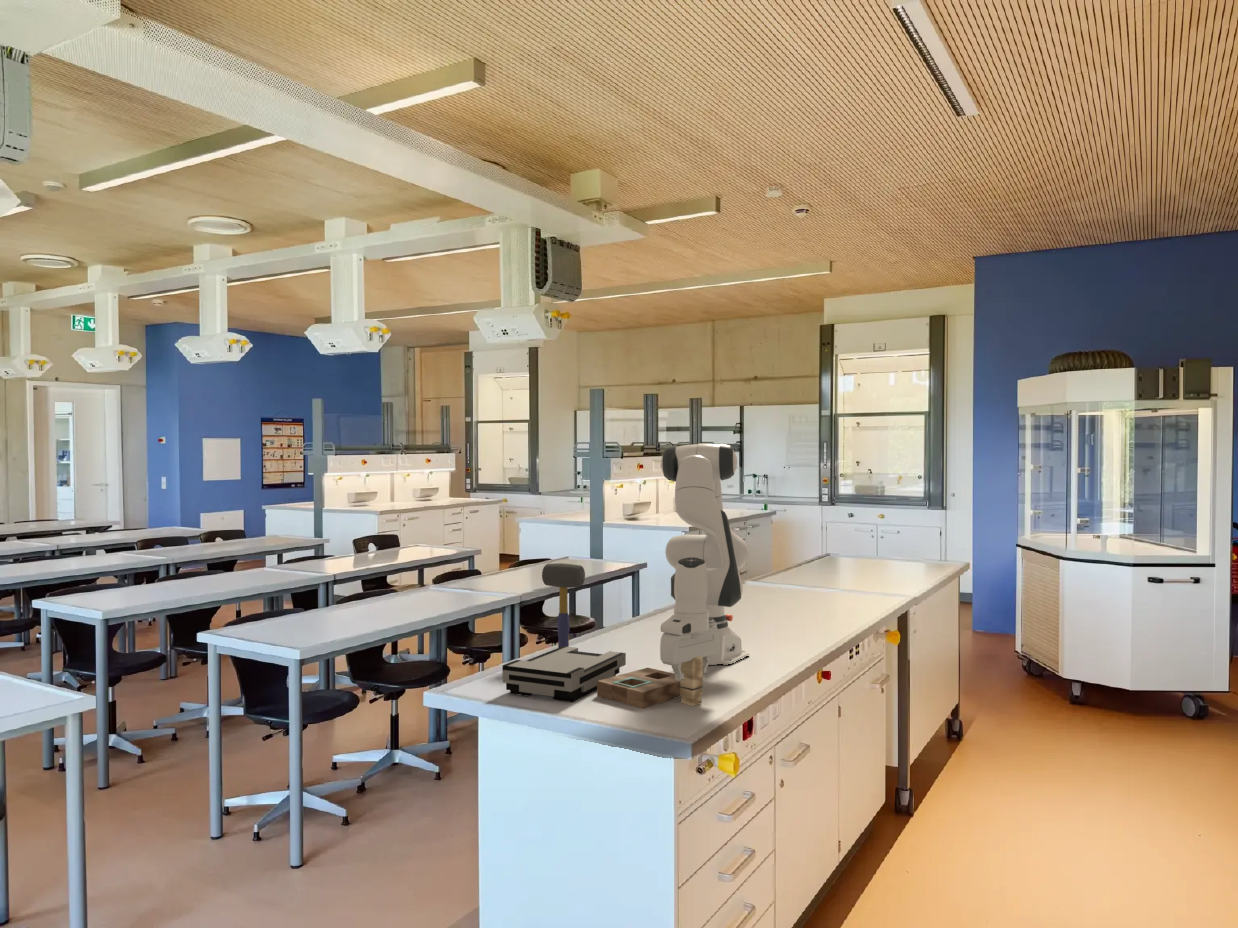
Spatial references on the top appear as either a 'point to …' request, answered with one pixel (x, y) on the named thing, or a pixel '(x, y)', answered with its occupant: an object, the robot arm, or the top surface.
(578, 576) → the rubber mallet
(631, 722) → the top surface
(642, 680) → the board
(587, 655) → the game console
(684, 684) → the peg
